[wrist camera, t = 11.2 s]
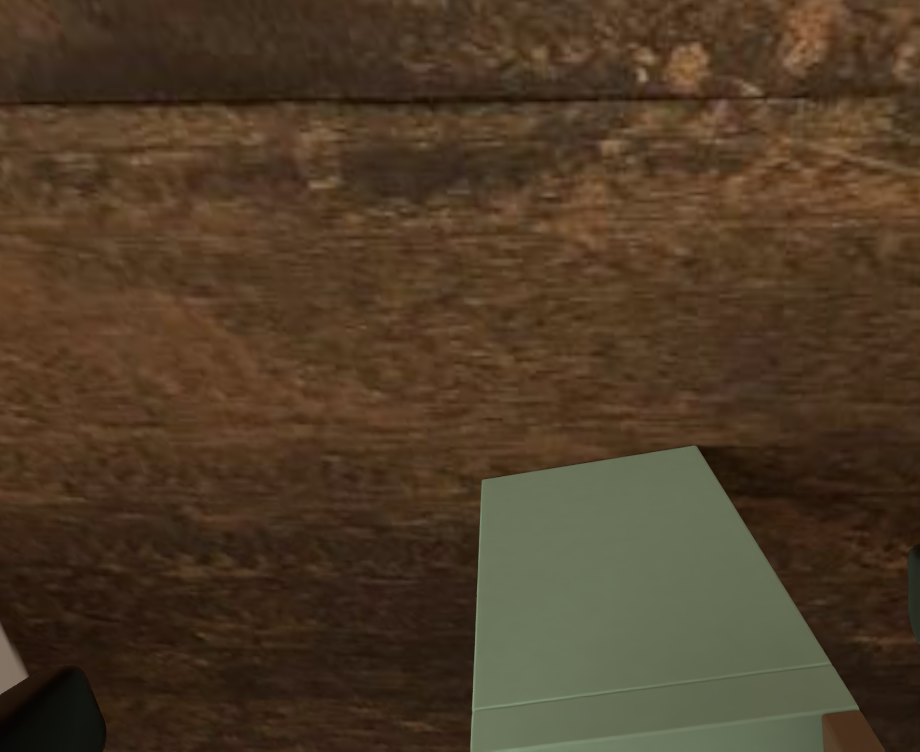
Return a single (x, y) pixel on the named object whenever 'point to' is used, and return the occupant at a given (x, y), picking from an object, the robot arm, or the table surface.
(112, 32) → the table surface
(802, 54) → the table surface
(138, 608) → the table surface
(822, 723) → the sage green block
